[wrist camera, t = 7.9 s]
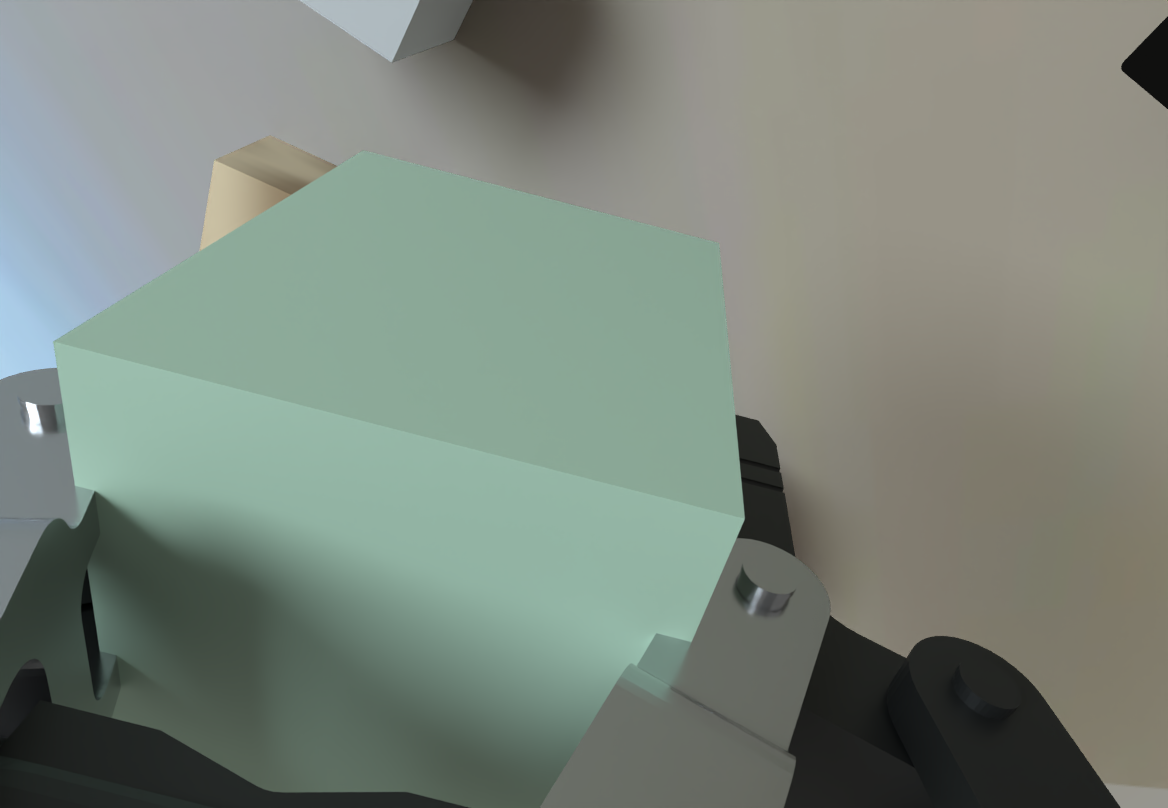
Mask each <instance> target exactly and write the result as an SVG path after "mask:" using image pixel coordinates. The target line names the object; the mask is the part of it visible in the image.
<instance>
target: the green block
mask: <svg viewBox="0 0 1168 808" xmlns="http://www.w3.org/2000/svg"><path fill="white" fill-rule="evenodd" d="M53 343H54V350H55V356H56V363H57V370H58V376H59V383H60V390H61V396H62V403H63V410H64V416H65V423H66V430H67V436H68V443H69V450H70V456H71V463H72V470H73V476H74V483H75V486H78V487H82V488H86V489H90V490H94V491H95V497H96V505H97V512H98V519H99V527H100V536H99V538H98V541H97V543H96V546H95V548H94V551H93V553H92V556H91V558H90V561H89V563H88V566H87V569H88V576H89V583H90V589H91V596H92V603H93V609H94V616H95V623H96V629H97V636H98V642H99V649H100V651H101V652H105V653H109V654H113V655H117V661H118V668H119V676H120V683H121V689H120V692H119V695H118V699H117V702H116V705H115V709H114V712H113V715H112V718H114V719H118V720H122V721H126V722H130V723H134V724H138V725H142V726H146V727H150V728H154V729H158V730H161V731H163V732H164V733H166V734H168V735H170V736H171V737H173V738H175V739H177V740H178V741H180V742H182V743H183V744H185V745H187V746H189V747H190V748H192V749H194V750H196V751H197V752H199V753H201V754H202V755H204V756H206V757H208V758H209V759H211V760H213V761H214V762H216V763H218V764H220V765H221V766H223V767H225V768H227V769H228V770H230V771H232V772H233V773H235V774H237V775H239V776H240V777H242V778H244V779H246V780H247V781H249V782H251V783H252V784H254V785H256V786H258V787H260V788H262V789H265V790H269V791H273V792H409V793H413V794H417V795H421V796H425V797H429V798H433V799H437V800H441V801H445V802H449V803H453V804H457V805H461V806H465V807H469V808H540V806H541V805H542V803H543V801H544V800H545V798H546V796H547V795H548V793H549V792H550V790H551V788H552V787H553V785H554V783H555V782H556V780H557V779H558V777H559V775H560V774H561V772H562V770H563V769H564V767H565V765H566V764H567V762H568V761H569V759H570V757H571V756H572V754H573V752H574V751H575V749H576V747H577V746H578V744H579V743H580V741H581V739H582V738H583V736H584V734H585V733H586V731H587V729H588V728H589V726H590V725H591V723H592V721H593V720H594V718H595V716H596V715H597V713H598V712H599V710H600V708H601V707H602V705H603V703H604V702H605V700H606V698H607V697H608V695H609V694H610V692H611V690H612V689H613V687H614V685H615V684H616V682H617V681H618V679H619V677H620V676H621V674H622V673H623V671H624V670H625V669H626V667H627V666H628V665H629V664H630V663H633V664H634V665H636V666H637V664H638V663H639V661H640V659H641V658H642V656H643V654H644V653H645V651H646V649H647V648H648V646H649V644H650V643H651V641H652V639H653V638H654V636H655V634H656V633H658V634H662V635H666V636H669V637H673V638H677V639H681V640H685V641H689V642H692V640H693V637H694V635H695V633H696V630H697V628H698V626H699V624H700V621H701V619H702V617H703V614H704V612H705V610H706V607H707V605H708V603H709V600H710V598H711V596H712V594H713V591H714V589H715V587H716V584H717V582H718V580H719V577H720V575H721V573H722V570H723V568H724V566H725V564H726V561H727V559H728V557H729V554H730V552H731V550H732V547H733V545H734V543H735V540H736V538H737V536H738V534H739V531H740V529H741V527H742V524H743V522H744V520H745V515H744V504H743V493H742V483H741V472H740V461H739V451H738V440H737V429H736V419H735V408H734V397H733V386H732V376H731V365H730V354H729V344H728V333H727V322H726V312H725V301H724V290H723V280H722V269H721V258H720V248H719V243H717V242H713V241H709V240H705V239H701V238H698V237H694V236H690V235H686V234H682V233H678V232H675V231H671V230H667V229H663V228H659V227H655V226H652V225H648V224H644V223H640V222H636V221H632V220H629V219H625V218H621V217H617V216H613V215H609V214H606V213H602V212H598V211H594V210H590V209H586V208H583V207H579V206H575V205H571V204H567V203H563V202H560V201H556V200H552V199H548V198H544V197H540V196H537V195H533V194H529V193H525V192H521V191H517V190H514V189H510V188H506V187H502V186H498V185H494V184H490V183H487V182H483V181H479V180H475V179H471V178H467V177H464V176H460V175H456V174H452V173H448V172H444V171H441V170H437V169H433V168H429V167H425V166H421V165H418V164H414V163H410V162H406V161H402V160H398V159H395V158H391V157H387V156H383V155H379V154H375V153H372V152H368V151H364V150H363V151H361V152H360V153H358V154H357V155H355V156H353V157H352V158H350V159H348V160H347V161H345V162H344V163H342V164H340V165H339V166H337V167H336V168H334V169H332V170H331V171H329V172H327V173H326V174H324V175H323V176H321V177H319V178H318V179H316V180H314V181H313V182H311V183H310V184H308V185H306V186H305V187H303V188H301V189H300V190H298V191H297V192H295V193H293V194H292V195H290V196H288V197H287V198H285V199H284V200H282V201H280V202H279V203H277V204H276V205H274V206H272V207H271V208H269V209H267V210H266V211H264V212H263V213H261V214H259V215H258V216H256V217H254V218H253V219H251V220H250V221H248V222H246V223H245V224H243V225H241V226H240V227H238V228H237V229H235V230H233V231H232V232H230V233H228V234H227V235H225V236H224V237H222V238H220V239H219V240H217V241H216V242H214V243H212V244H211V245H209V246H207V247H206V248H204V249H203V250H201V251H199V252H198V253H196V254H194V255H193V256H191V257H190V258H188V259H186V260H185V261H183V262H181V263H180V264H178V265H177V266H175V267H173V268H172V269H170V270H169V271H167V272H165V273H164V274H162V275H160V276H159V277H157V278H156V279H154V280H152V281H151V282H149V283H147V284H146V285H144V286H143V287H141V288H139V289H138V290H136V291H134V292H133V293H131V294H130V295H128V296H126V297H125V298H123V299H122V300H120V301H118V302H117V303H115V304H113V305H112V306H110V307H109V308H107V309H105V310H104V311H102V312H100V313H99V314H97V315H96V316H94V317H92V318H91V319H89V320H87V321H86V322H84V323H83V324H81V325H79V326H78V327H76V328H74V329H73V330H71V331H70V332H68V333H66V334H65V335H63V336H62V337H60V338H58V339H57V340H55V341H53Z"/></svg>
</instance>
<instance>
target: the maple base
mask: <svg viewBox="0 0 1168 808" xmlns="http://www.w3.org/2000/svg"><path fill="white" fill-rule="evenodd" d="M336 167H337V166H336V165H334V164H331V163H329V162H327V161H325V160H323V159H321V158H318V157H316V156H314V155H312V154H310V153H307V152H305V151H303V150H301V149H299V148H297V147H294V146H292V145H290V144H288V143H286V142H284V141H281V140H279V139H277V138H275V137H273V136H268V137H265V138H263V139H261V140H259V141H256V142H254V143H252V144H250V145H247V146H245V147H243V148H240V149H238V150H236V151H234V152H231V153H229V154H227V155H225V156H222V157H220V158H218V159H216V160H214V165H213V172H212V178H211V184H210V190H209V196H208V202H207V209H206V215H205V221H204V227H203V233H202V240H201V246H200V251H201V250H203V249H204V248H206V247H207V246H209V245H211V244H212V243H214V242H216V241H217V240H219V239H220V238H222V237H224V236H225V235H227V234H228V233H230V232H232V231H233V230H235V229H237V228H238V227H240V226H241V225H243V224H245V223H246V222H248V221H250V220H251V219H253V218H254V217H256V216H258V215H259V214H261V213H263V212H264V211H266V210H267V209H269V208H271V207H272V206H274V205H276V204H277V203H279V202H280V201H282V200H284V199H285V198H287V197H288V196H290V195H292V194H293V193H295V192H297V191H298V190H300V189H301V188H303V187H305V186H306V185H308V184H310V183H311V182H313V181H314V180H316V179H318V178H319V177H321V176H323V175H324V174H326V173H327V172H329V171H331V170H332V169H334V168H336Z"/></svg>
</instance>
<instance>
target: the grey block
mask: <svg viewBox="0 0 1168 808" xmlns="http://www.w3.org/2000/svg"><path fill="white" fill-rule="evenodd" d="M300 1H301V2H303V3H304V4H306V5H307V6H309V7H310V8H312V9H313V10H315V11H316V12H317V13H319V14H320V15H322V16H323V17H325V18H326V19H328V20H329V21H331V22H332V23H334V24H335V25H337V26H338V27H340V28H341V29H343V30H344V31H346V32H347V33H349V34H350V35H352V36H353V37H355V38H356V39H357V40H359V41H360V42H362V43H363V44H365V45H366V46H368V47H369V48H371V49H372V50H374V51H375V52H377V53H378V54H380V55H381V56H383V57H384V58H386V59H387V60H389V61H390V62H395V61H398V60H400V59H403V58H406V57H408V56H411V55H414V54H416V53H419V52H422V51H424V50H427V49H430V48H433V47H435V46H438V45H441V44H443V43H446V42H449V41H451V40H454V38H455V36H456V34H457V32H458V30H459V28H460V26H461V24H462V22H463V20H464V18H465V16H466V13H467V11H468V9H469V7H470V5H471V3H472V1H473V0H300Z"/></svg>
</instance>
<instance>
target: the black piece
mask: <svg viewBox="0 0 1168 808" xmlns="http://www.w3.org/2000/svg"><path fill="white" fill-rule="evenodd" d="M1121 69H1122V71H1123V72H1124V73H1125V74H1127V75H1128V76H1129V77H1130V78H1131V79H1133V80H1134V81H1135V82H1136V83H1137V84H1139V85H1140V86H1141V87H1142V88H1143V89H1144V90H1146V91H1147V92H1148V93H1149V94H1150V95H1152V96H1153V97H1154V98H1155V99H1156V100H1158V101H1159V102H1160V103H1161V104H1162V105H1163V106H1165V107H1166V108H1167V109H1168V17H1167V18H1166V19H1165V20H1164V21H1163V22H1162V23H1161V24H1160V25H1159V26H1158V27H1157V28H1156V29H1155V30H1154V31H1153V32H1152V33H1151V34H1150V35H1149V36H1148V37H1147V38H1146V39H1145V40H1144V41H1143V42H1142V43H1141V44H1140V45H1139V46H1138V47H1137V49H1136V50H1135V51H1134V52H1133V53H1132V54H1131V55H1130V56H1129V57H1128V58H1127V59H1126V60H1125V61H1124V62H1123V63H1122V66H1121Z"/></svg>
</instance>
